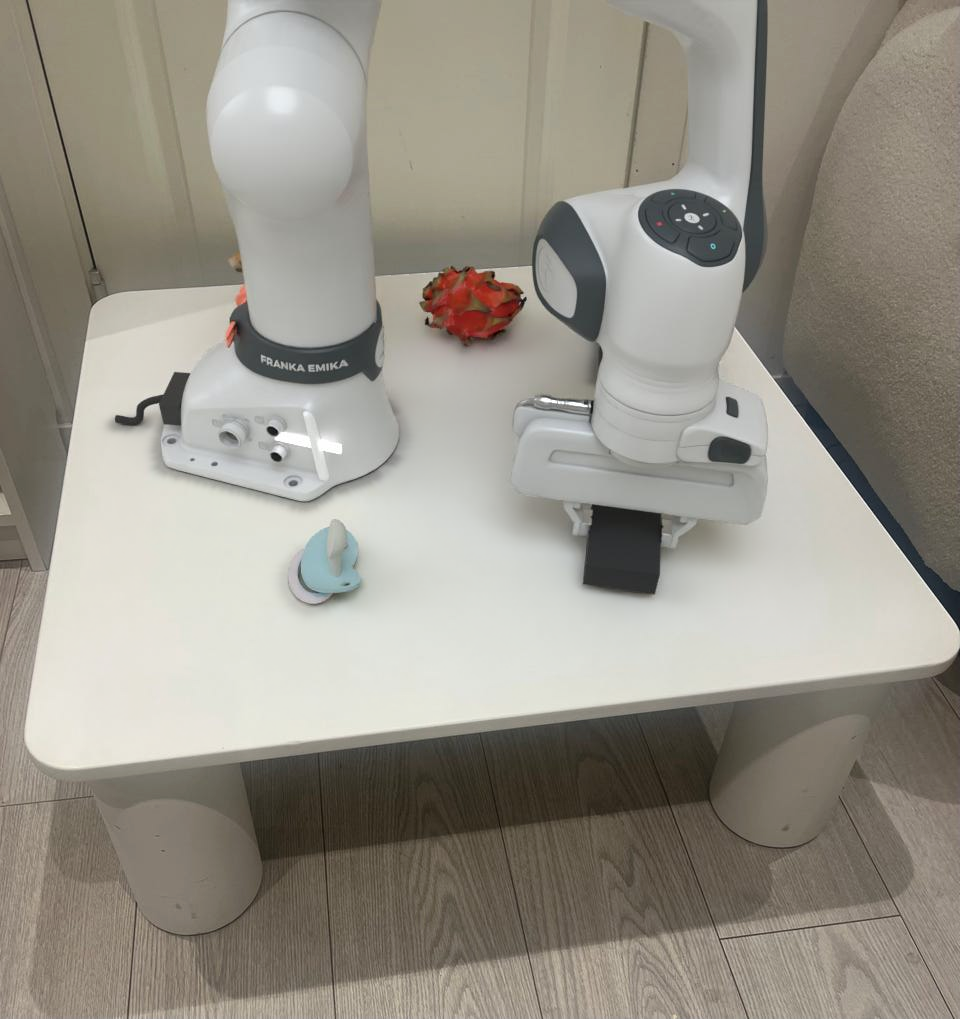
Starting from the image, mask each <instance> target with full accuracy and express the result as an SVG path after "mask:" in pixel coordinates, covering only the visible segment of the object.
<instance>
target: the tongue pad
mask: <svg viewBox="0 0 960 1019" xmlns="http://www.w3.org/2000/svg"><path fill="white" fill-rule="evenodd" d="M590 510H593V514H592V525H591V530H590V531H589V537H587V536H586V547H585V557H584V568H583V578H582V585H584V586H592V587H599V588H605V589H613V590H620V591H627V592H635V593H641V594H647V595H648V594H649V595H656V591H657V588H658V583H659V580H660V576H661V548H662V547H661V522H662V514H661V513H653V512H646V511H638V510H631V509H624V508H616V507H609V506H601V505H594V504H590Z"/></svg>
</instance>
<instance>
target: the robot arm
mask: <svg viewBox="0 0 960 1019" xmlns="http://www.w3.org/2000/svg"><path fill="white" fill-rule="evenodd" d="M598 1H599V2H600V3H603V4H604V5H606V6H608V7H610V8H612V9H614V10H616V11H619V12H621V13H623V14H624V15H625V14H626V15H628V16H630V17H633V18H635V19H638V20H641V21H644V22H646V23H649V24H652V25H655V26H657V27H660V28H661V29H664V30H667V31H668V32H669V33H671V34H672V35H673V36H674V37H675V39H677V41H678V42H679V45H680V46H681V48H682V51H683V53H684V57H685V61H686V68H687V70H686V71H687V133H688V134H687V146H688V147H687V150H688V152H687V154H688V155H687V159H686V162H685V164H684V166H683V167H682V169H681V170H680V171H679V172H678V173H677V174H675V175H674V176H673V177H672V178H670V179H667V180H663V181H656V182H651V183H646V184H641V185H640V184H639V185H635V186H629V187H625V188H620V187H618V188H613V189H605V190H601V191H595V192H591V193H586V194H585V193H584V194H580V195H576V196H573V197H570V198H566V199H564V200H558V201H557V202H555V203H554V204H553V205H552V206H551V207H550V209H548V211H546V214H545V215H544V216H543V219H542V221H541V222H540V224H539V226H538V230H537V232H536V236H535V238H534V242H533V246H532V255H531V270H532V271H531V272H532V281H533V287H534V290H535V294H536V297H537V299H538V300H539V301H540V303H541V304H542V306H543V307H544V309H545V310H546V311H547V312H549V313H550V314H551V315H552V316H553V317H555V318H556V319H557V320H559V321H560V322H561V323H563V324H564V325H565V326H566V327H568V328H569V330H572V331H573V332H574V333H576V334H577V335H578V336H580V337H582V338H583V339H584V340H586V341H587V342H590V343H594V342H596V343H597V344H598V346H599V345H600V346H601V348H602V351H603V357H602V360H601V363H600V366H599V371H598V370H597V375H596V376H597V378H596V383H595V389H594V396H593V399H585V398H579V397H560V396H553V395H552V394H548V393H547V394H546V393H537V394H535V395H534V397H529V398H525V399H523V400H520V401H519V402H517V404H516V405H515V407H514V409H513V413H512V422H511V427H512V431H513V433H514V435H515V436H516V438H518V439H517V444H516V447H515V452H514V457H513V461H512V462H513V463H512V470H511V475H510V485H511V486H512V488H513V489H514V490H515V491H516V492H517V494H519V495H522V496H527V497H536V498H543V499H548V500H549V499H550V500H558V501H563V509H564V510H565V512H566V513H567V515H568V516H569V518H570V520H571V521H572V523H573V524H572V525H573V526H572V535H573V536H581V537H586V538H587V537H589V531H590V530H591V525H592V514H593V510H591V508H584V506H583V504H586V505H587V504H588V505H592V504H594V505H601V506H609V507H616V508H624V509H631V510H638V511H646V512H653V513H661V515H669V516H675V517H673V518H672V519H665V518H661V548H668V549H675V550H676V549H677V548H678V547H677V546H678V543H679V539H680V537H682V536H683V535H685V534H686V533H688V532H689V531H690V530H691V529H693V528H694V527H696V526H697V524H698V521H699V520H707V521H714V522H720V523H729V524H735V525H743V526H747V525H750V524H752V523H753V522H756V521H757V520H759V519H760V518H761V516H762V514H763V511H764V507H765V504H766V498H767V492H768V482H769V477H768V476H769V474H768V461H767V460H768V459H767V451H768V441H769V428H768V426H769V425H768V420H767V415H766V414H767V413H766V409H765V406H764V402H763V399H762V398H761V397H760V396H759V395H757V394H756V393H753V392H751V391H749V390H746V389H744V388H741V387H739V386H737V385H734V384H732V383H729V382H728V381H725V380H723V379H720V374H719V366H720V363H721V360H722V358H723V356H724V355H725V354H726V352H727V351H728V348H729V346H730V344H731V342H732V338H733V334H734V331H735V327H736V323H737V318H738V315H739V310H740V305H741V301H742V296H743V295H742V294H744V292H745V291H746V290H747V289H748V288H749V286H750V285H751V284H752V282H753V281H754V280H755V278H756V276H757V274H758V272H759V270H760V268H761V267H762V264H763V262H764V260H765V256H766V254H767V248H768V240H769V227H768V226H769V225H768V217H767V209H766V203H765V195H764V194H765V193H764V185H763V182H764V180H763V168H764V167H763V165H764V145H765V144H764V142H765V119H766V118H765V116H766V115H765V114H766V92H767V89H766V88H767V65H768V34H769V32H768V31H769V30H768V28H769V27H768V26H769V23H768V22H769V16H768V15H769V12H768V11H769V7H768V0H598ZM382 4H383V0H227V10H226V11H227V12H226V22H225V28H224V34H223V38H222V45H221V47H220V53H219V55H218V56H219V57H218V59H217V64H216V68H215V70H214V75H213V78H212V81H211V84H210V87H209V91H208V94H207V99H206V106H205V117H206V118H205V121H206V122H205V123H206V130H207V139H208V145H209V151H210V155H211V159H212V163H213V167H214V169H215V171H216V174H217V176H218V178H219V182H220V186H221V189H222V193H223V196H224V199H225V202H226V203H225V204H226V205H227V208H228V211H229V214H230V217H231V220H232V223H233V226H234V227H233V228H234V230H235V234H236V238H237V239H236V240H237V244H238V250H240V257H241V263H242V270H243V273H242V276H243V282H244V283H243V284H242V286H240V289H239V293H238V294H237V295H236V296H235V304H236V307H235V308H234V309H233V311H232V312H231V314H230V316H229V318H228V319H229V320H228V321H229V325H228V327H227V330H226V332H225V336H224V337H225V338H224V339H225V340H223V341H221V342H219V343H217V344H215V345H213V346H212V347H211V348H209V349H208V350H206V352H205V353H203V355H202V356H201V357H200V359H198V361H197V362H196V364H195V365H194V367H193V368H192V371H191V372H181V371H180V372H179V371H173V374H172V375H171V378H170V380H169V382H168V384H167V386H166V389H165V390H164V393H163V394H158V395H153V396H150V397H147V398H145V399H143V400H142V401H140V402H139V403H138V404H137V405H136V411H135V413H136V415H135V416H134V417H132V416H131V417H130V416H124V415H121V414H120V415H119V414H116V415H115V416H114V422H115V423H116V424H122V425H128V426H135V425H139V424H141V423H142V422H143V420H144V418H145V409H146V408H148V407H150V406H152V405H153V406H154V405H157V404H158V408H159V411H160V416H161V419H162V420H161V421H162V424H163V428H162V433H161V437H160V449H161V457H162V460H163V463H164V464H165V466H166V467H167V468H170V469H172V470H176V471H180V472H183V473H187V474H192V475H196V476H199V477H204V478H207V479H212V480H215V481H218V482H223V483H227V484H232V485H235V486H239V487H241V488H246V489H250V490H254V491H259V492H262V493H266V494H270V495H275V496H278V497H283V498H286V499H290V500H294V501H296V502H297V501H298V502H310V501H313V500H315V499H317V498H319V497H320V496H322V495H324V494H325V493H326V492H328V491H329V490H330V489H332V488H333V487H336V486H338V485H340V484H343V483H347V482H349V481H354V480H356V479H359V478H361V477H363V476H366V475H368V474H370V473H371V472H373V471H375V470H376V469H378V468H379V467H381V466H382V465H384V463H385V462H387V460H388V459H389V458H390V457H391V456H392V454H393V453H394V451H395V450H396V448H397V446H398V443H399V439H400V426H399V423H398V420H397V417H396V415H395V414H394V411H393V408H392V406H391V401H390V398H389V395H388V391H387V387H386V382H385V377H384V373H383V367H384V364H385V356H386V346H385V342H386V341H385V326H384V325H383V316H382V315H383V314H382V307H381V305H380V302H379V300H378V299H377V286H376V284H377V282H376V264H375V262H376V261H375V260H376V259H375V243H374V242H375V241H374V240H375V239H374V225H373V213H372V212H373V211H372V201H371V199H372V198H371V186H370V171H369V170H370V169H369V153H368V152H369V151H368V150H369V149H368V118H367V117H368V113H367V112H368V87H369V86H368V84H369V72H370V64H371V57H372V56H371V55H372V51H373V46H374V42H375V38H376V37H375V36H376V32H377V26H378V23H379V19H380V18H379V17H380V13H381V9H382Z"/></svg>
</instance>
